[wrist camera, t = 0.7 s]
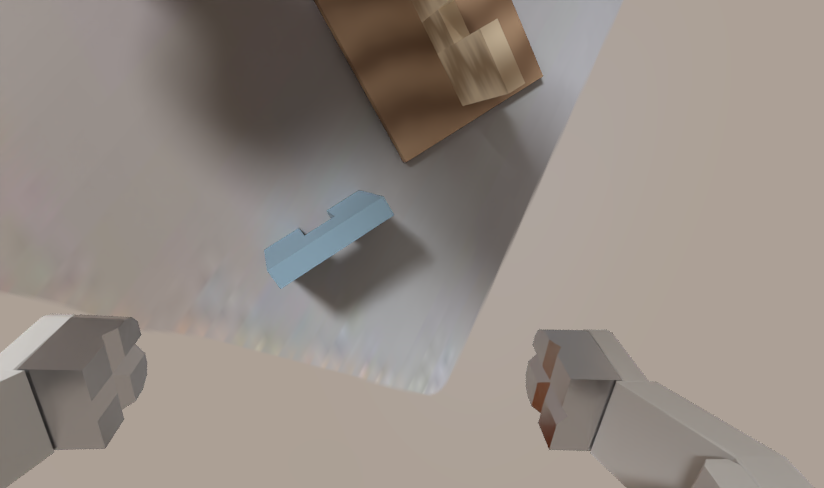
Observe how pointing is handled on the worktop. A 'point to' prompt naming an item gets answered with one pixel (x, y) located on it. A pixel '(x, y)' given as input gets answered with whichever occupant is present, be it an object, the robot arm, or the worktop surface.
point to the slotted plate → (325, 237)
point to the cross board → (432, 61)
